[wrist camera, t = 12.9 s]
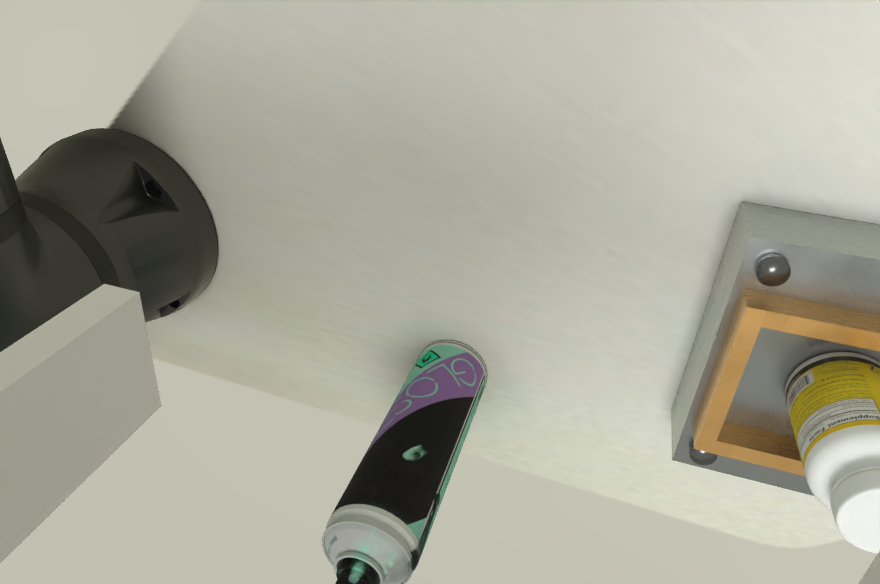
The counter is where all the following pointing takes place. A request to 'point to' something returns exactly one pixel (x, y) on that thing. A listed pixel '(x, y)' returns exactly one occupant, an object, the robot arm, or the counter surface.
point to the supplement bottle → (840, 439)
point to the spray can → (406, 469)
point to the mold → (773, 337)
